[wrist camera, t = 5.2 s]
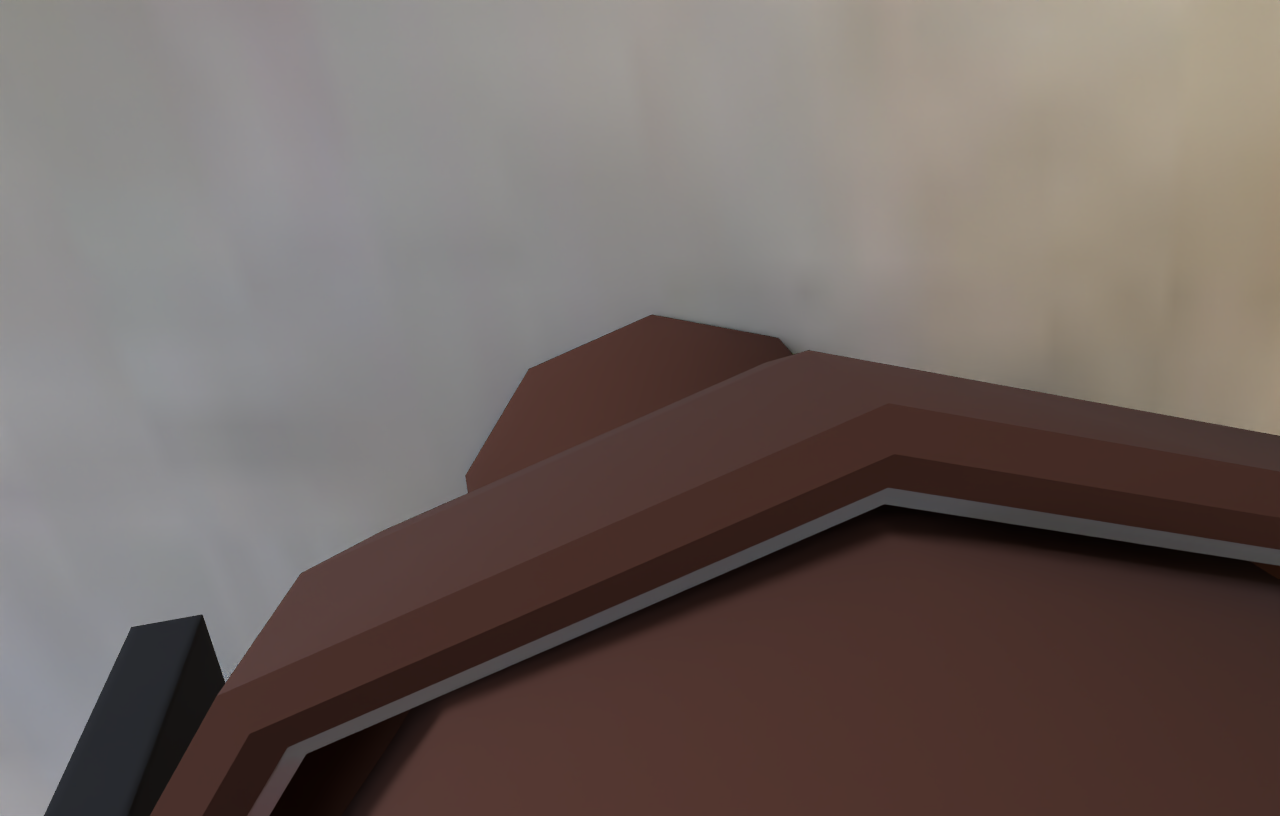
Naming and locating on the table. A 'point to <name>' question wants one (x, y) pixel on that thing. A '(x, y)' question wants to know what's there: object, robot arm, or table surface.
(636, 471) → the ice cream bowl
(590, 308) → the table surface
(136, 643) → the robot arm
